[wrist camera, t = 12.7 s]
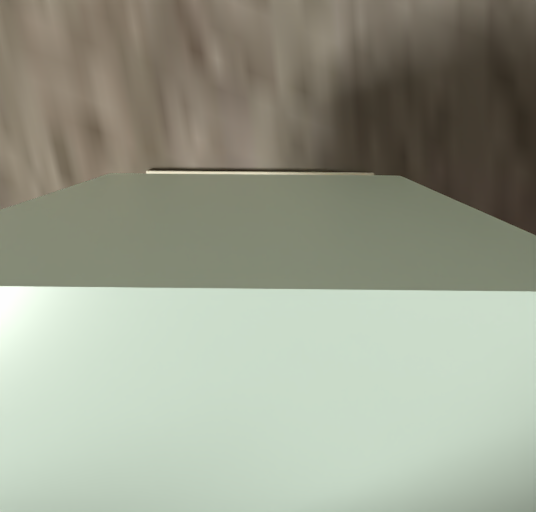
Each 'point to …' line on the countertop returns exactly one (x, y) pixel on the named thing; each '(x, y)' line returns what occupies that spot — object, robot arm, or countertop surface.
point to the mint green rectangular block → (265, 348)
